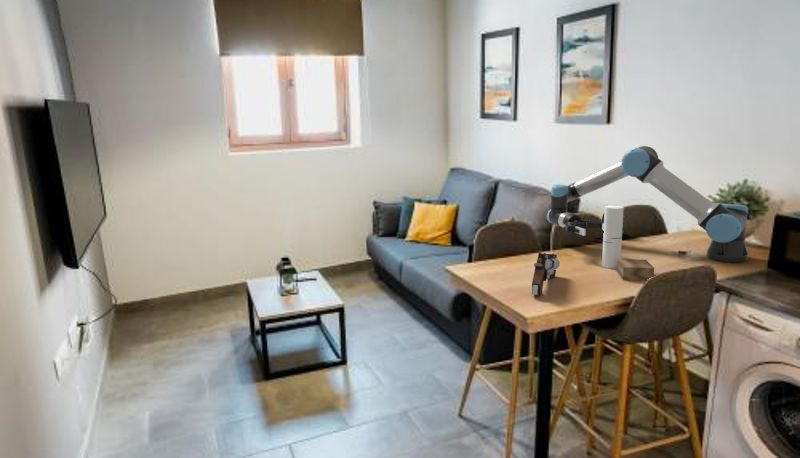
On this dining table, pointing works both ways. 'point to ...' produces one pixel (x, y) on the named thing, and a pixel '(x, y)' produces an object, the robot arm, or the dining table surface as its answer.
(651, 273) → the base block
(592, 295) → the dining table surface
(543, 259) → the toy gun
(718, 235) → the robot arm
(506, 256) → the dining table surface
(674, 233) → the dining table surface
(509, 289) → the dining table surface
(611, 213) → the cylindrical container
